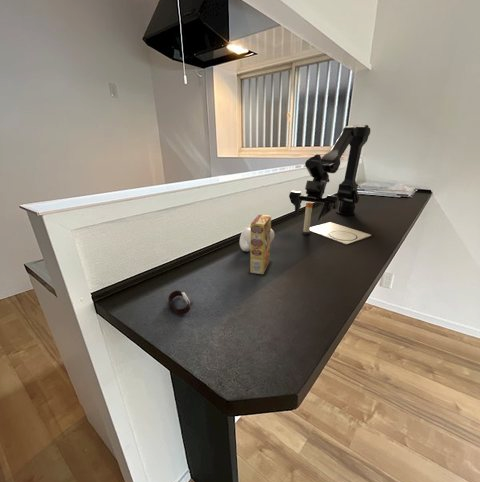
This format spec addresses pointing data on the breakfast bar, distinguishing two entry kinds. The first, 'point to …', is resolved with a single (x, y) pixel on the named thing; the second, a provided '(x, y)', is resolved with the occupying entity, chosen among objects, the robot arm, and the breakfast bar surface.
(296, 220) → the breakfast bar surface
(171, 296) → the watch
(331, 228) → the sketch pad
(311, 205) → the marker
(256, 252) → the candy box
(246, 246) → the white rounded lump
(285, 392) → the breakfast bar surface
